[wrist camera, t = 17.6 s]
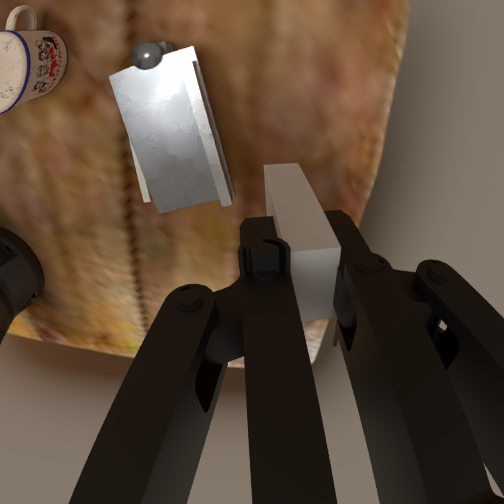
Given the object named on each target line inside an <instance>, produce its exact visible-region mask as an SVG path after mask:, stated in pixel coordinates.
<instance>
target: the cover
mask: <svg viewBox="0 0 504 504" xmlns="http://www.w3.org/2000/svg"><path fill="white" fill-rule="evenodd" d="M131 61H132V63H133V65H134V66H132V67H130V68H127V69H125V70H122V71H120V72H118V73H115V74H113V75H111V76H109V78H110V81H111V85H112V88H113V91H114V94H115V97H116V100H117V103H118V106H119V109H120V112H121V115H122V118H123V121H124V124H125V126H126V129H127V132H128V135H129V138H130V141H131V143H132V146H133V149H134V152H135V154H136V157H137V160H138V162H139V165H140V168H141V170H142V173H143V176H144V178H145V181H146V183H147V186H148V188H149V191H150V193H151V196H152V199H153V201H154V204H155V206H156V208H157V211H158V213H159V214H162V213H166V212H170V211H173V210H177V209H181V208H185V207H189V206H193V205H198V204H202V203H206V202H210V201H214V200H219V199H220V202H221V205H222V207H225V206H229V205H232V200H233V196H235V190H234V186H233V183H232V179H231V176H230V172H229V168H228V165H227V161H226V158H225V154H224V150H223V147H222V143H221V140H220V136H219V132H218V129H217V125H216V121H215V118H214V114H213V111H212V107H211V103H210V100H209V96H208V93H207V89H206V85H205V82H204V78H203V75H202V71H201V67H200V64H199V60H198V56H197V53H196V49H195V46H191V47H188V48H184V49H181V50H178V51H175V52H172V53H169V54H166V55H165V53H164V49H163V47H162V46H161V45H160V44H158V43H155V42H142V43H140V44H138V45H137V46H136V47H135V48H134V49H133V51H132V53H131Z"/></svg>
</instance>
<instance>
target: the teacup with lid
mask: <svg viewBox="0 0 504 504" xmlns="http://www.w3.org/2000/svg"><path fill="white" fill-rule="evenodd" d="M20 12H21V13H23V14H24V15H25V17H26V19H27V31H19V32H15V27H16V21H17V17H18V15H19V14H20ZM36 24H37V20H36V14H35V12H34V10H33V9H32V8H31V7H29V6H26V5H22V6H18V7H16V8H15V9H14V10H13V11H12V12H11V13H10V15H9V17H8V20H7V24H6V30H4V31H0V114H2V113H4V112H7V111H8V110H10V109H11V108H12V107H13V106H16V105H18V104H21V103H23V102H26V101H29V100H31V99H34V98H37V97H40V96H42V95H45V94H47V93H48V92H50V91H51V90H52V89H53V88H54V87H55V86H56V85H57V84H58V83H59V81H60V80H61V78H62V76H63V74H64V71H65V68H66V62H67V52H66V47H65V45H64V42H63V41H62V39H61V38H60V37H59V36H58V35H57V34H55V33H54V32H51V31H36Z"/></svg>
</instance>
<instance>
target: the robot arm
mask: <svg viewBox="0 0 504 504" xmlns="http://www.w3.org/2000/svg"><path fill="white" fill-rule="evenodd" d="M264 178H265V196H266V214H267V216H266V217H254V218H245V219H244V221H243V222H242V224H241V225H240V242H241V243H240V244H241V246H240V247H239V250H238V260H239V268H240V276H239V278H238V279H237V281H236V282H235V283H233V284H232V285H230V286H229V287H226V288H224V289H222V290H218V291H215V292H213V291H212V290H211V289H209V288H208V287H207V286H204V285H200V284H187V285H184V286H181V287H178V288H176V289H175V290H173V291H172V292H171V293H170V294H169V295H168V296H167V297H166V299H165V301H164V302H163V304H162V306H161V308H160V310H159V312H158V314H157V316H156V318H155V319H154V321H153V323H152V325H151V327H150V329H149V331H148V333H147V335H146V337H145V339H144V341H143V343H142V345H141V346H140V348H139V350H138V352H137V354H136V356H135V358H134V360H133V362H132V364H131V367H130V368H129V370H128V372H127V375H126V376H125V378H124V381H123V383H122V385H121V387H120V389H119V391H118V393H117V395H116V397H115V399H114V401H113V403H112V406H111V408H110V410H109V412H108V414H107V416H106V419H105V420H104V423H103V425H102V427H101V429H100V432H99V434H98V436H97V438H96V441H95V443H94V445H93V447H92V449H91V452H90V454H89V456H88V459H87V461H86V463H85V465H84V468H83V470H82V472H81V475H80V477H79V480H78V482H77V484H76V487H75V489H74V492H73V494H72V497H71V499H70V502H69V504H187V500H188V497H189V494H190V490H191V487H192V484H193V480H194V477H195V474H196V470H197V467H198V464H199V460H200V457H201V454H202V450H203V447H204V444H205V440H206V436H207V433H208V430H209V427H210V423H211V420H212V417H213V413H214V409H215V406H216V403H217V400H218V396H219V393H220V389H221V386H222V382H223V379H224V376H225V372H226V369H227V365H228V362H229V361H232V360H235V359H238V358H241V357H243V356H244V363H245V383H246V401H247V420H248V438H249V455H250V472H251V488H252V504H337V499H336V493H335V487H334V482H333V476H332V470H331V464H330V459H329V454H328V448H327V443H326V437H325V432H324V428H323V422H322V417H321V412H320V407H319V402H318V396H317V392H316V387H315V382H314V377H313V372H312V367H311V363H310V358H309V353H308V348H307V344H306V339H305V335H304V330H303V326H302V322H305V321H314V320H322V319H330V318H332V314H333V307H334V309H335V311H336V315H337V322H336V327H335V333H334V338H333V346H336V345H337V341H338V340H339V342H340V346H341V350H342V353H343V357H344V360H345V364H346V367H347V371H348V374H349V378H350V381H351V385H352V389H353V393H354V396H355V400H356V404H357V408H358V411H359V415H360V419H361V423H362V427H363V431H364V435H365V439H366V443H367V447H368V452H369V456H370V461H371V464H372V469H373V474H374V478H375V483H376V488H377V492H378V497H379V502H380V504H504V498H502V497H500V496H497V495H496V494H495V493H494V492H493V491H492V488H491V486H490V483H489V480H488V477H487V473H486V470H485V467H484V464H485V466H486V467H487V469H488V470H489V472H490V474H491V475H492V477H493V479H494V480H495V482H496V484H497V485H498V487H499V489H500V490H501V492H502V494H503V496H504V318H503V317H502V316H501V315H500V314H499V313H498V312H497V311H496V310H495V309H494V308H493V307H492V306H491V305H490V304H489V303H488V302H487V301H486V300H485V299H484V298H483V297H482V296H481V295H480V294H479V293H478V292H477V291H476V290H475V289H474V288H473V287H472V286H471V285H470V284H469V283H468V282H467V281H466V280H465V279H464V278H463V277H462V276H461V275H459V274H458V273H457V272H456V271H455V270H454V269H453V268H452V267H450V266H449V265H448V264H446V263H444V262H441V261H439V260H431V259H430V260H424V261H422V262H421V263H419V265H418V267H417V270H416V272H408V271H401V270H395V269H393V268H392V267H391V265H390V264H389V262H388V261H387V260H386V259H385V258H383V257H382V256H380V255H378V254H375V253H372V252H371V250H370V249H369V247H368V245H367V244H366V242H365V240H364V239H363V237H362V235H361V234H360V233H359V230H358V229H357V227H356V226H355V224H354V222H353V220H352V219H351V217H350V216H349V215H347V214H346V213H344V212H343V211H341V210H334V211H323V210H322V208H321V206H320V204H319V202H318V200H317V198H316V196H315V194H314V192H313V190H312V188H311V187H310V185H309V183H308V181H307V179H306V177H305V175H304V173H303V172H302V170H301V168H300V166H299V164H298V163H287V164H271V165H264ZM43 285H44V277H43V272H42V269H41V266H40V264H39V262H38V260H37V258H36V256H35V255H34V253H33V252H32V251H31V249H30V248H29V247H28V246H27V245H26V244H25V243H24V242H23V241H22V240H21V239H20V238H18V237H17V236H16V235H14V234H13V233H11V232H9V231H6V230H3V229H0V344H1V342H2V340H3V338H4V336H5V334H6V333H7V331H8V329H9V327H10V325H11V323H12V321H13V320H14V318H15V317H16V316H17V315H18V314H20V313H21V312H22V311H23V310H25V309H26V308H27V307H28V306H30V305H31V304H32V303H33V302H35V300H36V299H37V298H38V296H39V294H40V293H41V291H42V289H43ZM441 320H442V321H443V322H444V323H445V324H446V325H447V328H446V330H443V329H441V328H440V327H439V324H440V322H441ZM483 463H484V464H483Z"/></svg>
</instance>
